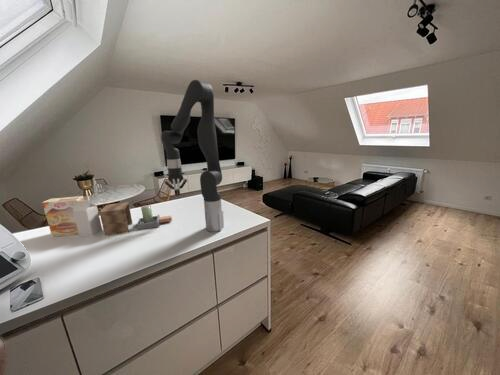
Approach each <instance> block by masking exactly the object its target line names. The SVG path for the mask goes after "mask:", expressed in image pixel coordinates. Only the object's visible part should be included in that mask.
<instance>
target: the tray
mask: <svg viewBox="0 0 500 375" xmlns="http://www.w3.org/2000/svg"><path fill="white" fill-rule="evenodd" d="M152 216H153V215H152ZM172 219H173V218H172V215H166V216H160V214H157V215H155V216H153V221H154V222H151V223H144V220H143V217H140V218H139V219H138V222H137V223H136V229H137V230H143V229H144V230H145V229H149V228H160V223H166V222H173V220H172Z"/></svg>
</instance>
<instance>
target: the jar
mask: <svg viewBox="0 0 500 375" xmlns="http://www.w3.org/2000/svg"><path fill="white" fill-rule="evenodd" d="M140 208H141V213H142V218H143V220H144V223H151V222H154V221H153V210H152V205H149V204H148V205H143V206H141V207H140Z"/></svg>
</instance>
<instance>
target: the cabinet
mask: <svg viewBox="0 0 500 375" xmlns="http://www.w3.org/2000/svg"><path fill="white" fill-rule="evenodd" d="M99 218H100V222H101V226H102V231H103V234H104V236H105V237H107V236H113V235H121V234H126V233H129V232H130V230H129V225H133V219H132V213H131V208H130V203H129V201H127V202H118V203H110V204H106V205H105V206H104V207H103V208H102V209H101V210H100V211H99Z"/></svg>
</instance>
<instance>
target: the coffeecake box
mask: <svg viewBox="0 0 500 375" xmlns="http://www.w3.org/2000/svg"><path fill="white" fill-rule="evenodd" d="M76 201H85V199H84V196H83V195H82V196H67V197H54V198H49V199H47V200H43V202H41V204H42V207H43V210H44V214H45V217H46V221H47V223H48V227H49V230H50V233H51V237H52V238H55V237H61V236H62V237H63V236H72V235H79V233H78V229H77V225H76V221H75V218H74V214H73V209H74V207H75V205H76V203H77V202H76Z"/></svg>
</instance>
